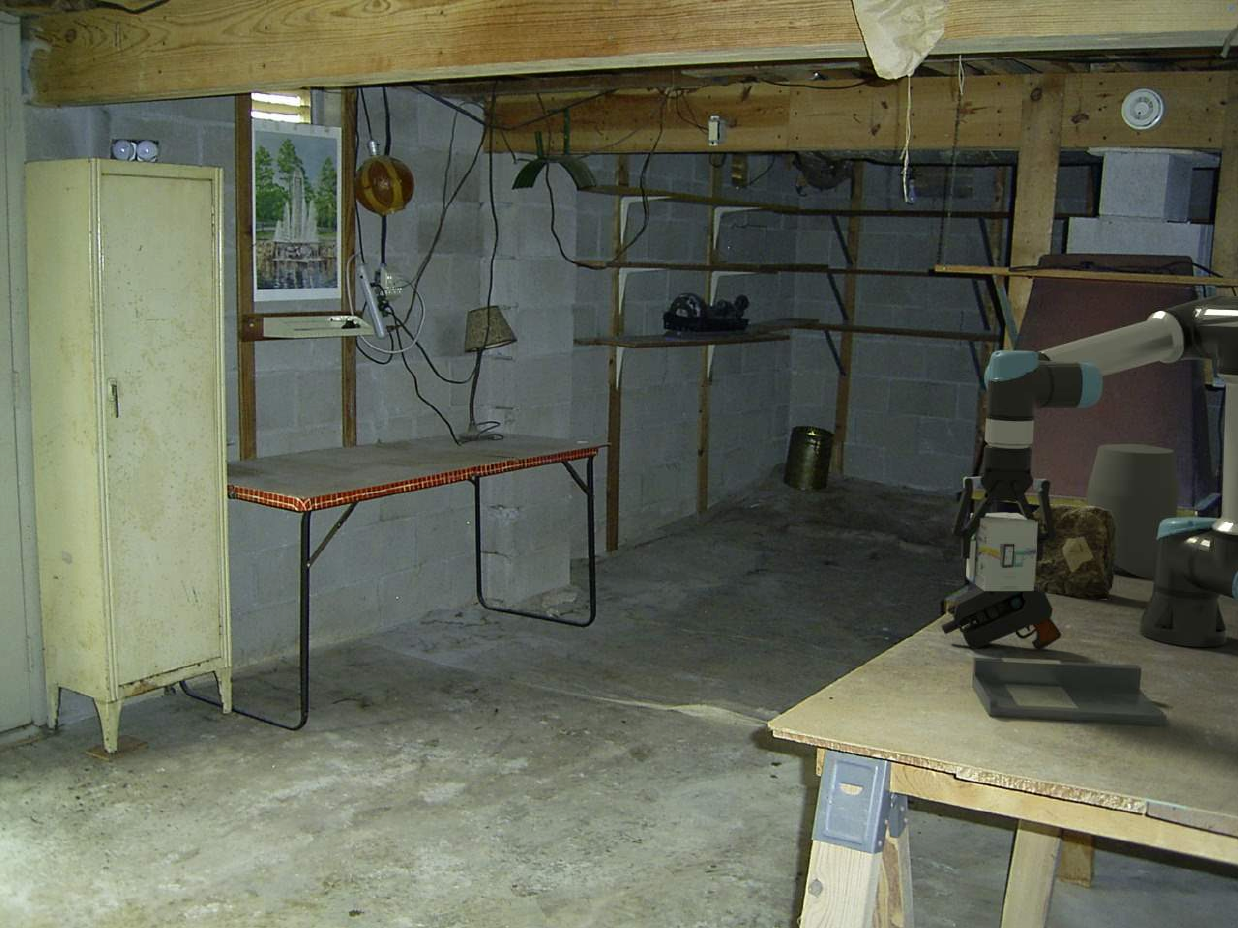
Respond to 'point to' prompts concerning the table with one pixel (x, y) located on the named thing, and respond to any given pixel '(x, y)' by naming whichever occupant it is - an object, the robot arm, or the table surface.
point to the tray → (1063, 691)
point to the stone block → (1078, 552)
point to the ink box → (1005, 552)
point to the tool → (1002, 616)
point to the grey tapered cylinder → (1135, 499)
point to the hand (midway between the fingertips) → (1000, 578)
